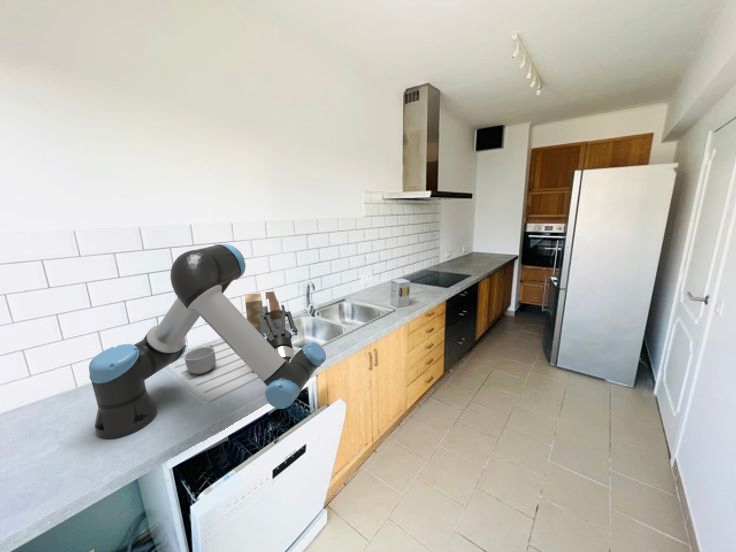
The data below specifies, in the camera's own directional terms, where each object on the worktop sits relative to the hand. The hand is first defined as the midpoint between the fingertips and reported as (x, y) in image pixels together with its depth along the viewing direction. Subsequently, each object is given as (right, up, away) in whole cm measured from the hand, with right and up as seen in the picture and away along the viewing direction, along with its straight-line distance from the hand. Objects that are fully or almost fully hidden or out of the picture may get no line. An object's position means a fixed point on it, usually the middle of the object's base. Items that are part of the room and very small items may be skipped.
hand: (273, 300), depth 116 cm
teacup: (-31, -29, +7) cm, 42 cm away
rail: (-2, -3, +4) cm, 6 cm away
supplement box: (+58, -10, +83) cm, 102 cm away
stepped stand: (-6, -28, +11) cm, 30 cm away
